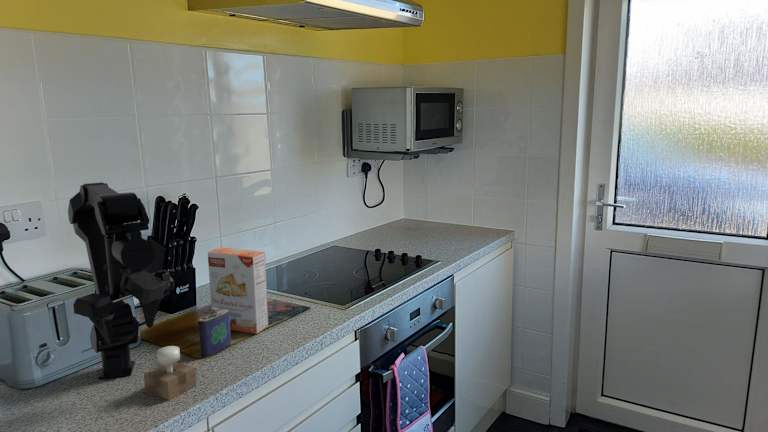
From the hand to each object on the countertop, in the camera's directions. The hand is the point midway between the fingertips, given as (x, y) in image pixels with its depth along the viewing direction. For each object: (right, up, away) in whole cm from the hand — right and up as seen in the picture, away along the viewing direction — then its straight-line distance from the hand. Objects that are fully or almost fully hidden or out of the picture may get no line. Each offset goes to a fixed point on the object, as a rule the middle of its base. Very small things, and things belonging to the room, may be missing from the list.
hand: (130, 335), depth 109 cm
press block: (+6, -12, +5) cm, 14 cm away
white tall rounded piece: (+6, -12, +5) cm, 15 cm away
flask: (+10, -9, +24) cm, 27 cm away
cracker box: (+12, -6, +38) cm, 40 cm away
